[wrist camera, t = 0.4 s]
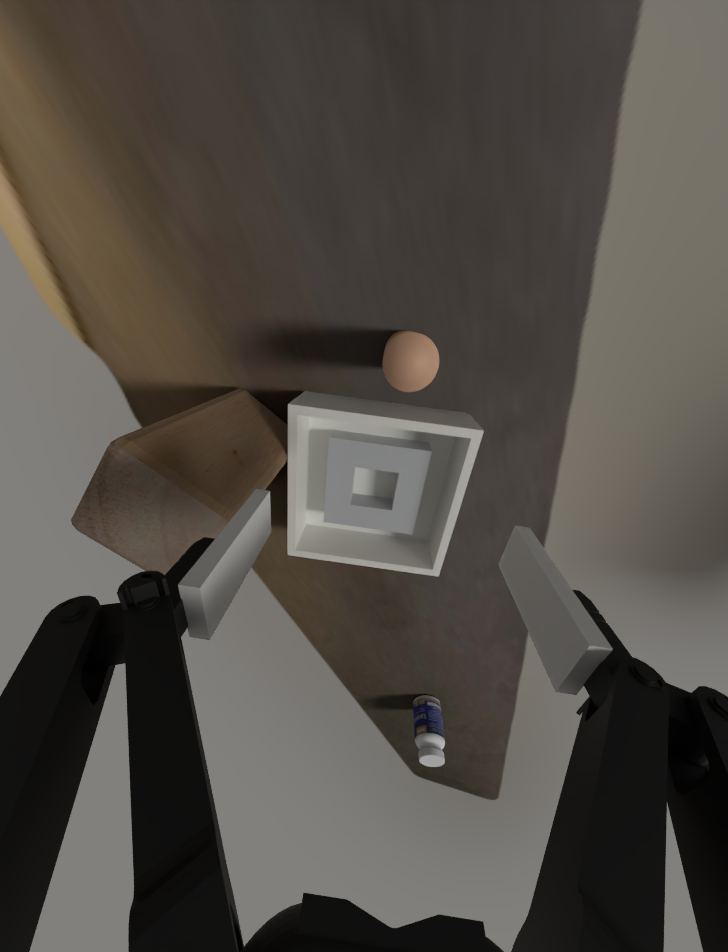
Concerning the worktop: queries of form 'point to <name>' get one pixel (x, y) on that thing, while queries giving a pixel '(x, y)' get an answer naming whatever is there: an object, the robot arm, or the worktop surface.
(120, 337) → the worktop surface
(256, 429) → the wooden block
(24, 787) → the robot arm
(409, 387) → the peg
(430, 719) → the pill bottle
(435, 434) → the tub
